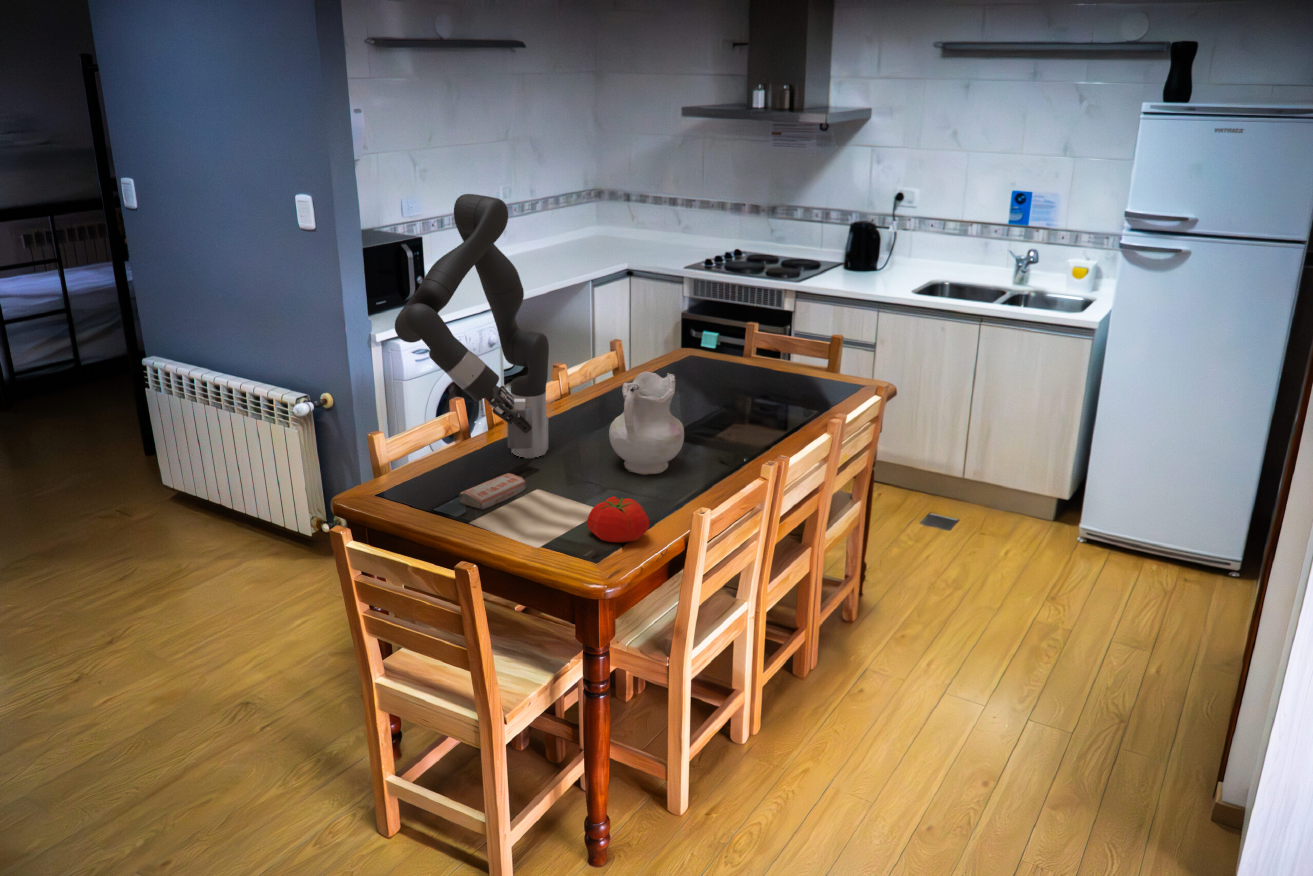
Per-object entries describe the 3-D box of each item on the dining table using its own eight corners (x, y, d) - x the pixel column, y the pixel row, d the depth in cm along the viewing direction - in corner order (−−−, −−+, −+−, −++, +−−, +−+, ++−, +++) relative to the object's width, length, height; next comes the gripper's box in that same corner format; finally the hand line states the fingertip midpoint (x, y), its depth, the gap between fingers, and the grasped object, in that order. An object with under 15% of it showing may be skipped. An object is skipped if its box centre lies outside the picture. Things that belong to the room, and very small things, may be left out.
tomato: (648, 525, 230) (649, 490, 227) (649, 550, 219) (650, 514, 216) (587, 523, 230) (588, 488, 227) (585, 549, 218) (586, 512, 215)
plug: (507, 443, 227) (507, 397, 223) (532, 443, 228) (532, 397, 224) (507, 448, 225) (506, 402, 221) (532, 448, 225) (532, 402, 221)
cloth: (537, 493, 244) (537, 488, 244) (604, 515, 234) (604, 510, 234) (468, 527, 226) (468, 523, 225) (537, 553, 215) (537, 548, 215)
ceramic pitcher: (670, 491, 251) (682, 398, 242) (595, 477, 254) (604, 384, 245) (685, 460, 271) (697, 373, 262) (615, 447, 274) (624, 360, 265)
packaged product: (503, 468, 247) (533, 478, 242) (503, 486, 249) (533, 497, 244) (448, 490, 234) (478, 502, 228) (449, 509, 235) (479, 521, 230)
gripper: (483, 373, 212) (541, 427, 218) (486, 354, 225) (541, 405, 231) (458, 397, 213) (517, 450, 219) (462, 377, 226) (518, 427, 232)
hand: (529, 427), depth 225 cm, fingers closed on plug, 3 cm apart
